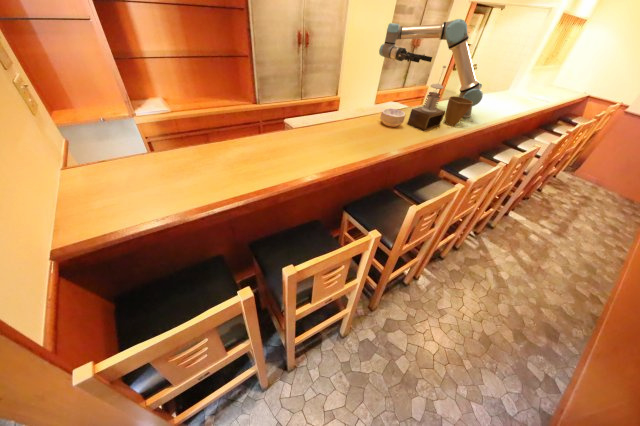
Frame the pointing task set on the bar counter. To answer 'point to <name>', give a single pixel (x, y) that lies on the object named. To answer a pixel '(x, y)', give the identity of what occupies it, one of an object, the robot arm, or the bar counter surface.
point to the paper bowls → (392, 117)
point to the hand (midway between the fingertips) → (425, 59)
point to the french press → (432, 98)
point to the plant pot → (456, 109)
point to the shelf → (425, 118)
